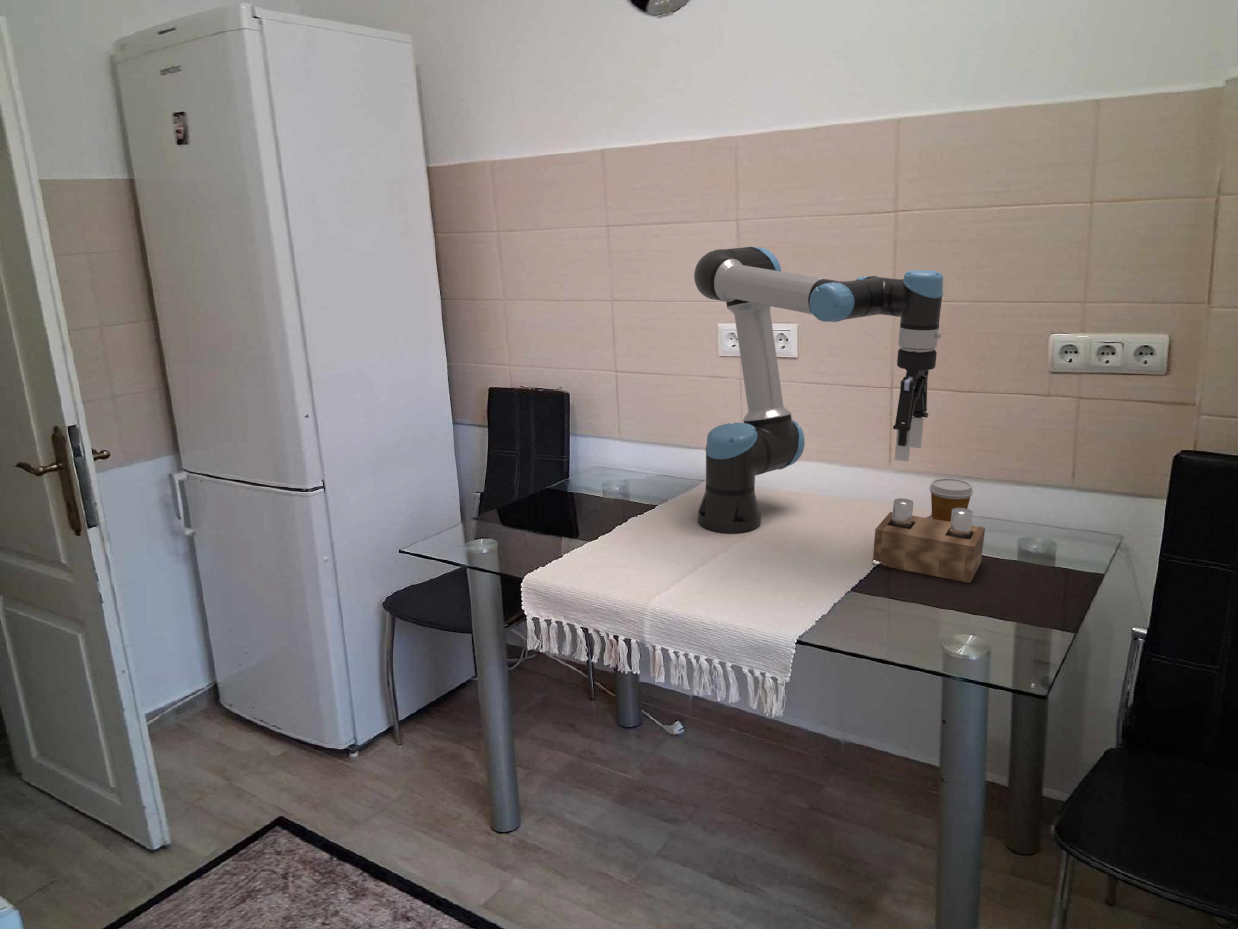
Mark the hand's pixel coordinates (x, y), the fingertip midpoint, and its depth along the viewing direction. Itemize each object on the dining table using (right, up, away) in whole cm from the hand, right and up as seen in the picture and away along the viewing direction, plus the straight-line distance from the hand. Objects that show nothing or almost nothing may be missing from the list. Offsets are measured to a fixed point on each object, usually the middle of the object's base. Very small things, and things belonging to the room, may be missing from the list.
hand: (908, 453), depth 191 cm
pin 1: (0, -18, +6) cm, 19 cm away
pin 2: (+10, -20, 0) cm, 22 cm away
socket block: (+5, -24, +4) cm, 24 cm away
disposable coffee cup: (+15, -18, +21) cm, 32 cm away
